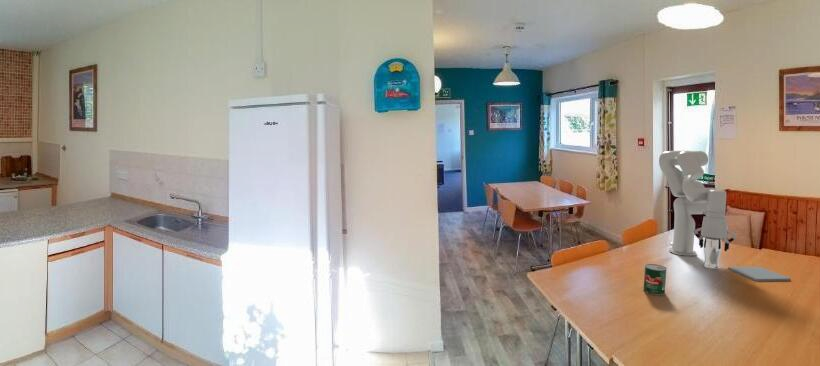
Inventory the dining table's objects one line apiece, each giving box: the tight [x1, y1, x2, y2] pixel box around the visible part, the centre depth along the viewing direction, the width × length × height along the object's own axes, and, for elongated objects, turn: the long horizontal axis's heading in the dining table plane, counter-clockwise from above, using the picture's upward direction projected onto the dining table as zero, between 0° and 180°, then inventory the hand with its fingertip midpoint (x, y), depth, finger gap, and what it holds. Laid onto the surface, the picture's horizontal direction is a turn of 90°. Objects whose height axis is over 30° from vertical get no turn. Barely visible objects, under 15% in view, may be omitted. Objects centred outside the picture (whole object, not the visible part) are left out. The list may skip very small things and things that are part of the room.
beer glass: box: [703, 237, 723, 270], centre depth 201 cm, size 7×7×15 cm
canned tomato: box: [643, 263, 667, 296], centre depth 172 cm, size 8×8×11 cm
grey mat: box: [727, 266, 792, 282], centre depth 191 cm, size 16×16×1 cm
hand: (713, 249), depth 200 cm, fingers open, 9 cm apart
